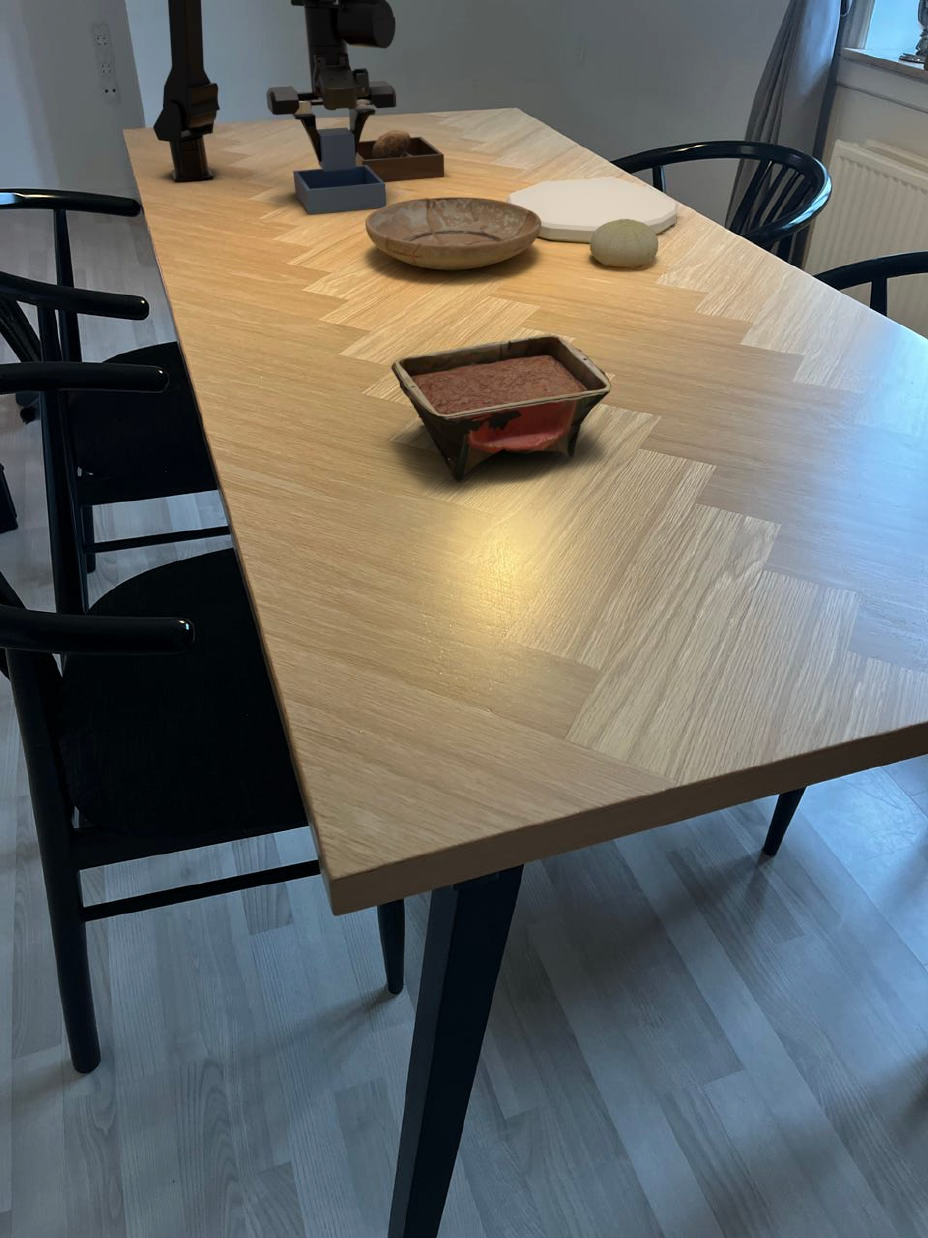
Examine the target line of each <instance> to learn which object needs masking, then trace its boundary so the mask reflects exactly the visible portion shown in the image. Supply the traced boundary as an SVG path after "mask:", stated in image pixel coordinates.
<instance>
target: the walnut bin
mask: <svg viewBox="0 0 928 1238" xmlns="http://www.w3.org/2000/svg"><path fill="white" fill-rule="evenodd" d="M410 138H411V140H410V144H409V146H408V147H407V149H406V151H407V153H408V154H410V155H412V156H408V157H395V158H383V159H373V157H372V151H373V146H374V144H375V142H376V141H377V140H378V139H373V140H360V141H359V145H358V149H357V154H356V166H361V165H368V166H369V168H370V169H371V170H372V171H373V172H374V173H375V174H376V175H377V176H378V177H379V178H380V179H381V180H382V181H383V182H384V183H385V182H397V181H398V182H399V181H406V180H407V181H409V180H421V179H431V178H432V179H433V178H442V177H445V154H444V153H443V152H442V151H441V150H439V149H438V148H436V147H435V146H434V145H433V144H431V143H430V142H429V141H427V140H426V139H424V138H423V137H422V136H410Z"/></svg>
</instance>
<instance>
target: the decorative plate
mask: <svg viewBox="0 0 928 1238" xmlns="http://www.w3.org/2000/svg"><path fill="white" fill-rule="evenodd" d="M506 203H511V204H515V205H518V206H521V207H523V208H526V209H528V210H530V211H533V212H534V213H536V214H537V215H538V216H539V218H540V220H541V230H540V233H539V235H538V236H537V238H542V239H544V240H545V239H546V240H549V241H558V242H559V241H560V242H571V243H572V242H573V243H585V244H590V240H591V238H592V235H593V233H594V232H595V231H596V230H597V229H598V228H599V227H600V226H602V225H603V224H606V223H608V222H612V221H613V220H614V221H616V220H619V219H630V220H635V221H638V222H641V223H644V224H646V225H648V226H649V227H650V228H652V230H653V231H654V232H655V234H656V235H659V234H660V233H662V232H663V231H665V230H667V229H668V228H669V227H671V226H673V225H674V224H676V222H677V215H678V209H679V208H678V207H679V204H678V202H677V201H676V200H673V199H672V198H671V197H669V196H668V195H666V194H665V193H663V192H662V191H660V190H657V189H654V188H651V187H649V186H645V185H642V184H639V183H635V182H632V181H628V180H625V179H621V178H618V177H614V176H612V175H611V176H601V177H591V178H582V179H581V178H579V179H563V180H543V181H541V182H538V183H535V184H533V185H531V186H528V187H526V188H523V189H518V190H516V191H514V192H512V193H510V194H508V196H507V197H506Z"/></svg>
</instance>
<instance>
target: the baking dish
mask: <svg viewBox="0 0 928 1238" xmlns="http://www.w3.org/2000/svg"><path fill="white" fill-rule="evenodd" d="M390 368H391V371H392V373H393V375H394V376H395V378H396V379H397V380H398V383H399V388H400V390H401V391H402V392H403V394H404V395H405V396H406V397H407V398H408V400H409V401H410V403H411V404H412V407H413V408H414V410H415V412H416V413H417V415H418V418H420V420H421V422H422V423H423V424H424V426H425V428H426V431H427V432H428V433H429V436H430V438H431V439H432V441H433V442H434V444H435V446H436V448H437V450H438V451H439V454H440V455H441V457H442V459H443V460H444V462H445V464H446V466H447V468H448V470H449V472H450V474H451V475H452V476H453V478H454V480H455V481H456V482H457V483H459V482H460V480H461V479H463V477H464V476H466V474H468V473H469V472H470V471H471V470H472V469H473V468H475V467H476V466H477V465H479V464H481V463H482V462H484V461H485V460H487V459H488V458H490V457H492V456H493V455H496V453H498V452H500V451H501V450H504V451H506V452H509V453H516V454H517V453H518V454H527V455H528V454H530V453H532V452H536V451H541V452H543V451H545V452H561V453H563V454H564V455H566V456H568V457H569V458H572V459H573V458H574V454H575V450H576V445H577V441H578V437H579V433H580V428H581V425H582V424H583V423H584V421H585V419H586V418H587V417H588V415H589V414H590V412H591V411H592V410H593V409H594V408H595V407H596V406H597V405H598V404H599V403H600V402H601V401H602V400H603V399H604V398H605V397H606V396H607V395H608V394H609V393H610V392H611V390H612V385H611V382H610V378H609V377H608V376H607V374H606V372H605V371H603V370H602V369H601V368H599V367H598V365H596V364H594V362H593V361H592V360H591V359H590V358H589V357H588V355H586V354H585V353H583V352H582V350H581V349H579V348H577V347H575V346H574V345H573V344H572V343H570V342H569V341H567V340H566V339H564V338H563V336H559V335H557V334H551V333H549V334H546V333H545V334H539V335H533V336H527V337H522V338H514V339H509V340H501V341H494V342H487V343H482V344H476V345H469V346H463V347H458V348H454V349H453V348H452V349H446V350H440V351H435V352H429V353H423V354H416V355H414V354H413V355H407V356H405V357H401V358H397V359H396V360H394V362H393V363H392V365H391V367H390Z"/></svg>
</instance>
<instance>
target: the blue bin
mask: <svg viewBox="0 0 928 1238" xmlns="http://www.w3.org/2000/svg"><path fill="white" fill-rule="evenodd" d="M292 173H293V174H292V175H293V183H294V184H293V185H294V192H295V195H296V197H297V199H298V200H299V202H300V203H301V204H302V206H303V208H304V209H305V211H306V212H307V214H309V215H318V214H329V213H340V212H351V211H363V210H371V209H380V208H382V207H385V206H387V191H386V189H387V188H386V183H385V182H383V181H382V180H381V179H380V178H379V177H378V176H377V175H376V174H375V173H374V172H373V171H372V170H371V169H370V168H369V166H368V165H361V166H356V169H354V170H342V171H330V172H324V170H323V169H322V168H313V169H302V170H301V169H300V170H293V171H292Z"/></svg>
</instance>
